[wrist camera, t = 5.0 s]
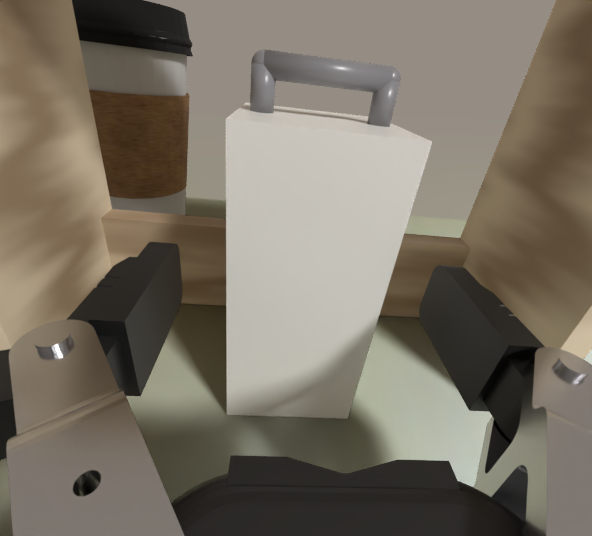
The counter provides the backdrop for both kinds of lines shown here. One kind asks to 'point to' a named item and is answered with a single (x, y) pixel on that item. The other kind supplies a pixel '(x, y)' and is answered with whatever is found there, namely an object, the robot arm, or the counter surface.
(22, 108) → the frame
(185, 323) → the counter surface
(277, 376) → the caddy
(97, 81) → the coffee cup
